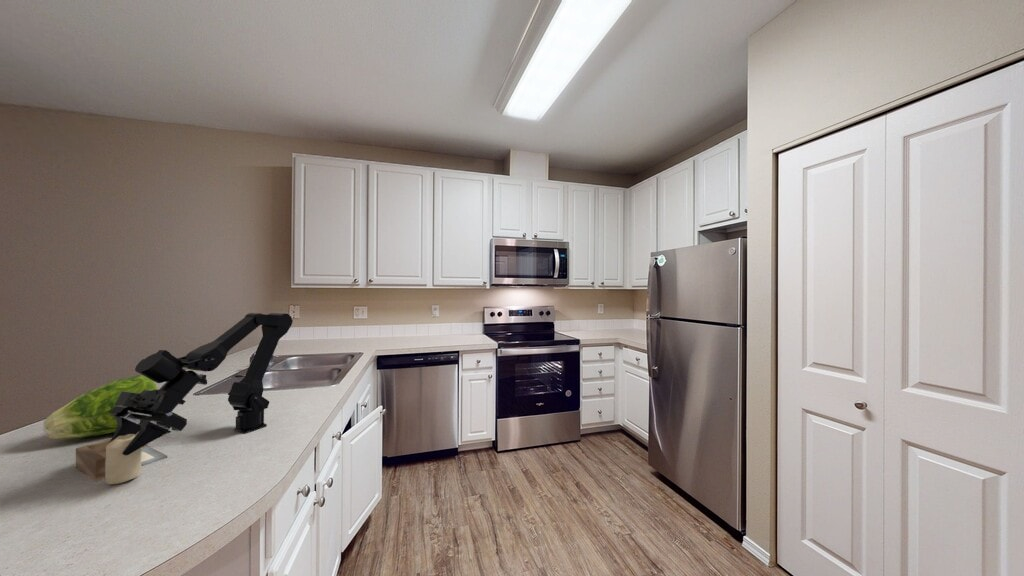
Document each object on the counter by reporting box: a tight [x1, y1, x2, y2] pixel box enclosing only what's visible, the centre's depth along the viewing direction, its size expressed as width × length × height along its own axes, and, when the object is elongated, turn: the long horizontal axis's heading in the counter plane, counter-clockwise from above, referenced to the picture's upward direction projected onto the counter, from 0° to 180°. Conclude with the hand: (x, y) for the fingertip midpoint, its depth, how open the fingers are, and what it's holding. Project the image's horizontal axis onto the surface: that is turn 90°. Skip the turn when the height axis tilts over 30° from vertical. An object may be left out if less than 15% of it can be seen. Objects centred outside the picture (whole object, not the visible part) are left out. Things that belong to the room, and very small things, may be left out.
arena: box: [75, 433, 168, 483], centre depth 87 cm, size 12×14×5 cm
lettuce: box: [42, 374, 159, 440], centre depth 104 cm, size 17×23×16 cm
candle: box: [105, 434, 142, 485], centre depth 79 cm, size 6×6×10 cm
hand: (115, 453), depth 78 cm, fingers closed on candle, 5 cm apart
